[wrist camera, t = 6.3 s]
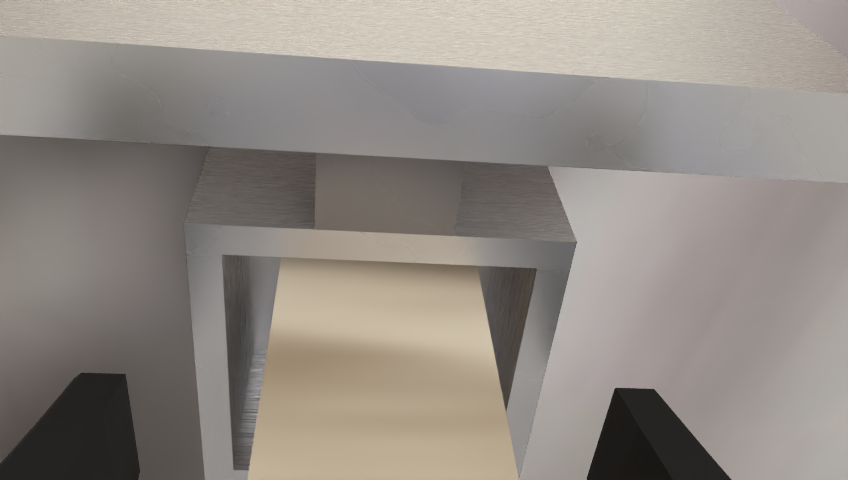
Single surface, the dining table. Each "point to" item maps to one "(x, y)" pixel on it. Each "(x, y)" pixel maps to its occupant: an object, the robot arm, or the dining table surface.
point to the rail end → (380, 376)
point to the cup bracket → (414, 140)
